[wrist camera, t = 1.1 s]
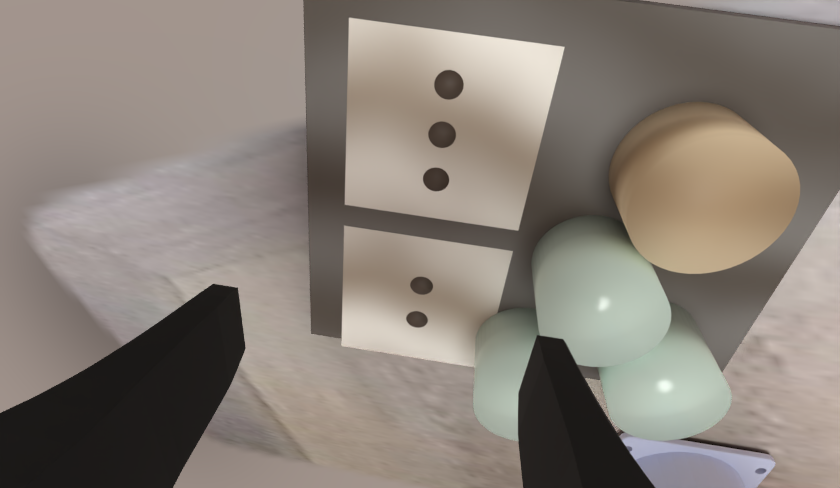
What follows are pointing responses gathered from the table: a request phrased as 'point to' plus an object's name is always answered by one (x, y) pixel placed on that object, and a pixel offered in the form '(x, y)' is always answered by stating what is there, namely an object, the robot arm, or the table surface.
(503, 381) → the mint rounded block
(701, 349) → the pale green dome
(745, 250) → the beige rounded lump
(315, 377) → the table surface
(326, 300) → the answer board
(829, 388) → the table surface
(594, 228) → the mint cylinder
